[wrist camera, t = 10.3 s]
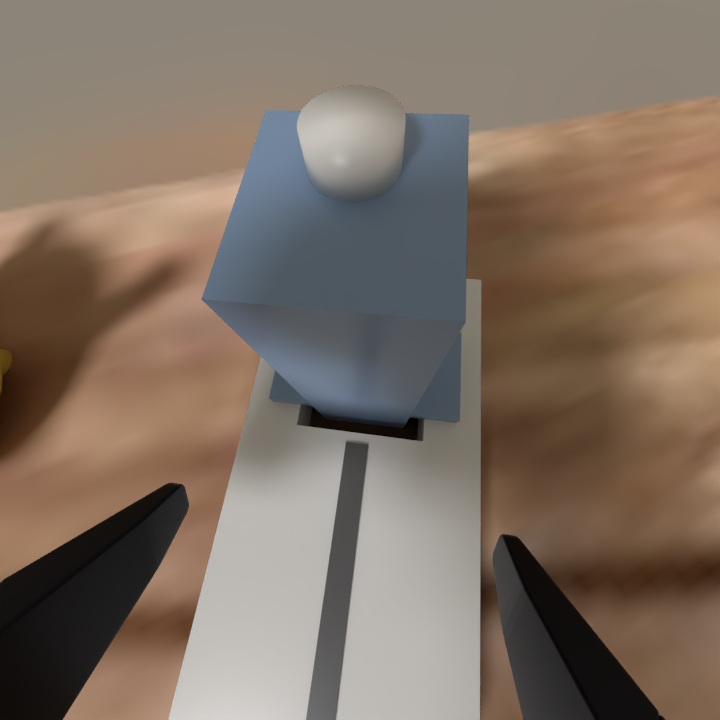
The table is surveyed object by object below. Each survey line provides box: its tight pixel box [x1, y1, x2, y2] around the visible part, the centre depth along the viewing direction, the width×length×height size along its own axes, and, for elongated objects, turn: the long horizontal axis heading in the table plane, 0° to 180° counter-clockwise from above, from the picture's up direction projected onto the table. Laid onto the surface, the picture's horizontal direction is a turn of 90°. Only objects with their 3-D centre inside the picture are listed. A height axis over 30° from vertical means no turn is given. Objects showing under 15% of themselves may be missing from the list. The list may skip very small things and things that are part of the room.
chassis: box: [168, 279, 481, 720], centre depth 15 cm, size 21×11×3 cm, turn 172°
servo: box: [202, 85, 469, 428], centre depth 11 cm, size 5×9×13 cm, turn 83°
